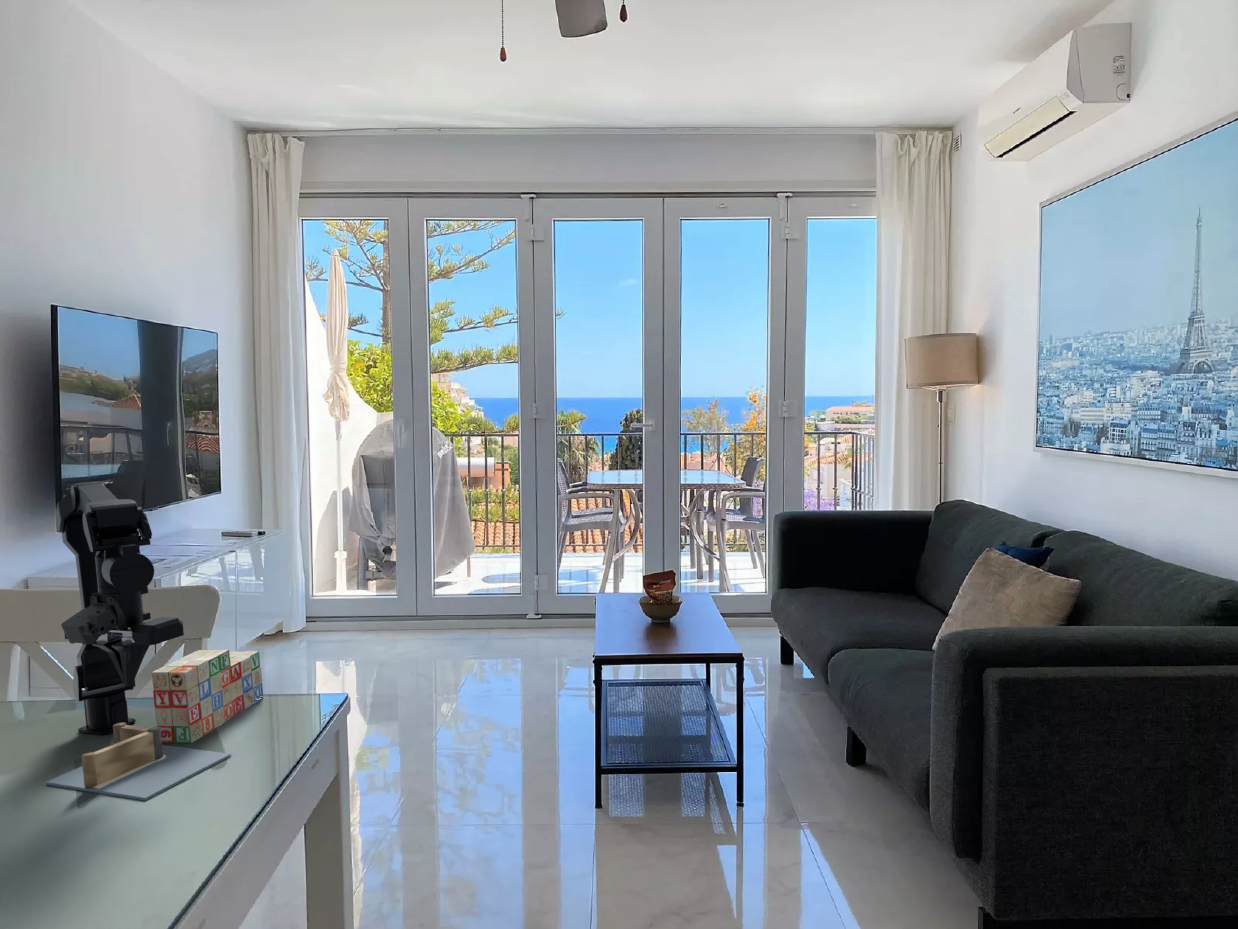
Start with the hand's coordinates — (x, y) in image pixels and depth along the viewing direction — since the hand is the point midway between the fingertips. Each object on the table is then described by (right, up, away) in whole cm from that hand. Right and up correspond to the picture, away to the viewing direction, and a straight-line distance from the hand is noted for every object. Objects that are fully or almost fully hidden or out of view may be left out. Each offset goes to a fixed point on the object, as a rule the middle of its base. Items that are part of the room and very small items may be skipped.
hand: (128, 683), depth 133 cm
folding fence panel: (+1, -13, -3) cm, 13 cm away
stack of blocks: (+4, -12, +20) cm, 23 cm away
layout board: (+3, -13, -1) cm, 13 cm away
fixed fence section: (0, -13, +4) cm, 13 cm away
